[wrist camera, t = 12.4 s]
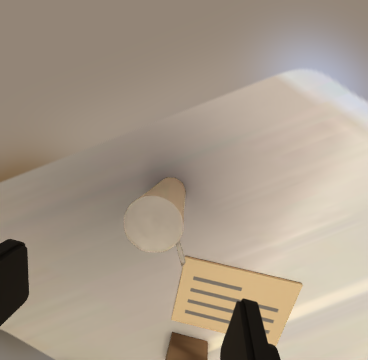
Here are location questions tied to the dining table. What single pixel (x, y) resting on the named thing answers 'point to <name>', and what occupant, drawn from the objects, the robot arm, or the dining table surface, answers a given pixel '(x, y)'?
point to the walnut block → (186, 348)
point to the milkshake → (158, 218)
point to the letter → (232, 296)
